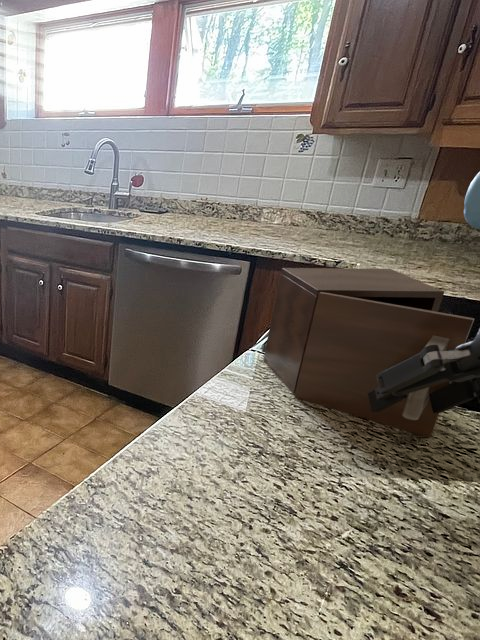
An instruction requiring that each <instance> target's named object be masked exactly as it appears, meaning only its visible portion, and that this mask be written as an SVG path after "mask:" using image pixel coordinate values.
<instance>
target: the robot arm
mask: <svg viewBox="0 0 480 640" xmlns="http://www.w3.org/2000/svg"><path fill="white" fill-rule="evenodd" d="M463 204H464V205H463V208H464V209H463V216H464V220H465V222H466V223H467V224H468V225H469V226H470V227H472V228H474V229H476V230H480V171H479V172H478V173H477V174H476V175H475V176H474V178H473V179H472V181H471V182H470V184H469V186H468V188H467V191H466V194H465V197H464V200H463ZM376 376H377V380H378V385H379V387H378V388H376V389H375V390H373V391H371V392H370V393H368V397H369V401H370V406H371V410H372V412H380V411H382V410H384V409H386V408H388V407H390V406H392V405H394V404H396V403H398V402H400V401H402V400H404V399H405V398H407V395H406V394H409V393H412V392H415V391H418V390H422V389H425V388H428V387H431V386H435V385H438V384H441V383H444V382H448V381H451V383H450V384H448V385H446V386H444V387H442V388H440V389H438V390H436V391H434V392H432V393H430V394H428V395H429V399H430V402H431V406H432V410H433V413H439V414H442V413H444V412H446V411H448V410H452V409H454V408H456V407H458V406H460V405H463V404H465V403H468V402H470V401H473V400H474V399H475V398H476V399H477V401H478V403H479V404H480V328H478V331H477V333H476V335H475V337H474V339H473V340H472V339H471V340H469V341H466V343H465V344H461V345H459V346H457V347H456V348H455V349H453V350H450V351H440V349H439V346H438V345H429V346H426V347H425V348H424V349H423V350H422V351H421V352H420V353H419V354H417V355H415V356H413V357H411V358H409V359H407V360H405V361H403V362H401V363H399V364H397V365H395V366H393V367H391V368H389V369H387V370H385V371H383V372H381V373H379V374H377V375H376ZM470 380H471V381H470Z"/></svg>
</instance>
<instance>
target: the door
mask: <svg viewBox="0 0 480 640" xmlns="http://www.w3.org/2000/svg"><path fill="white" fill-rule="evenodd" d="M474 321H475V318H474V317H469V316H464V315H463V316H462V315H457V314H451V313H446V312H439V311H438V312H435V311H429V310H423V309H418V308H412V307H406V306H400V305H394V304H389V303H383V302H377V301H371V300H366V299H360V298H354V297H348V296H343V295H337V294H331V293H325V292H320V293H319V295H318V299H317V303H316V308H315V312H314V316H313V320H312V324H311V329H310V333H309V337H308V341H307V345H306V350H305V354H304V358H303V362H302V366H301V371H300V375H299V379H298V383H297V387H296V392H295V394H294V398H296V399H300V400H303V401H307V402H309V403H313V404H316V405H320V406H323V407H325V408H329V409H333V410H336V411H340V412H343V413H347V414H349V415H352V416H355V417H358V418H363V419H366V420H370V421H371V422H375V423H379V424H383V425H386V426H389V427H393V428H396V429H399V430H403V431H405V432H409V433H413V434H415V435H419V436H422V437H426V438H428V439H430V438H431V437H432V435H433V433H434V429H435V427H436V424H437V421H438V418H439V417H440V413H433V410H432V406H431V402H430V399H429V395H428V394H430V393H432V392H434V391H436V390H438V389H440V388H442V387H444V386H446V385H448V384H450V383H452V381H448V382H444V383H441V384H438V385H435V386H431V387H428V388H425V389H422V390H418V391H415V392H412V393H409V394H406V395H407V398H405V399H404V400H402V401H400V402H398V403H396V404H394V405H392V406H390V407H388V408H386V409H384V410H382V411H380V412H372V410H371V406H370V401H369V397H368V393H370V392H371V391H373V390H375V389H376V388H378V387H379V385H378V380H377V376H376V375H377V374H379V373H381V372H383V371H385V370H387V369H389V368H391V367H393V366H395V365H397V364H399V363H401V362H403V361H405V360H407V359H409V358H411V357H413V356H415V355H417V354H419V353H420V352H421V351H422V350H423V349H424V348H425V347H426V346H429V345H438V346H439V349H440V351H450V350H453V349H455V348H456V347H457V346H459V345H461V344H465V343H467V340H468V337H469V334H470V333H471V332H470V331H471V329H472V327H473V324H474Z"/></svg>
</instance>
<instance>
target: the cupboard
mask: <svg viewBox="0 0 480 640" xmlns="http://www.w3.org/2000/svg"><path fill="white" fill-rule="evenodd" d="M320 292H325V293H331V294H337V295H343V296H348V297H354V298H360V299H366V300H371V301H377V302H383V303H389V304H394V305H400V306H406V307H412V308H418V309H423V310H429V311H435V312H439V310H440V306H441V303H442V300H443V298H444V294H445V291H444V290H442V289H439V288H437V287H435V286H433V285H430V284H428V283H425V282H422V281H420V280H419V279H416V278H414V277H411V276H409V275H406V274H404V273H401V272H398V270H397V271H396V270H394V269H392V268H351V267H349V268H348V267H347V268H346V267H345V268H344V267H343V268H342V267H341V268H338V267H337V268H336V267H335V268H333V267H330V268H329V267H282V268H281V271H280V276H279V281H278V286H277V290H276V295H275V299H274V300H275V301H274V304H273V310H272V315H271V320H270V325H269V329H268V335H267V339H266V344H265V349H264V354H263V360H262V362H264V363H265V364H266V366H267V367H268V368H269V369H270V370H271V371H272V372H273V373H274V374H275V376H276V377H277V378H278V379H279V380H280V381H281V382H282V383H283V384H284V386H285V387H286V388H287V389H288V390H289V391H290V393H291V394H292V395H295V392H296V387H297V383H298V379H299V375H300V371H301V366H302V362H303V358H304V354H305V350H306V345H307V341H308V337H309V333H310V329H311V324H312V320H313V316H314V312H315V308H316V303H317V299H318V295H319V293H320Z"/></svg>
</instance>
